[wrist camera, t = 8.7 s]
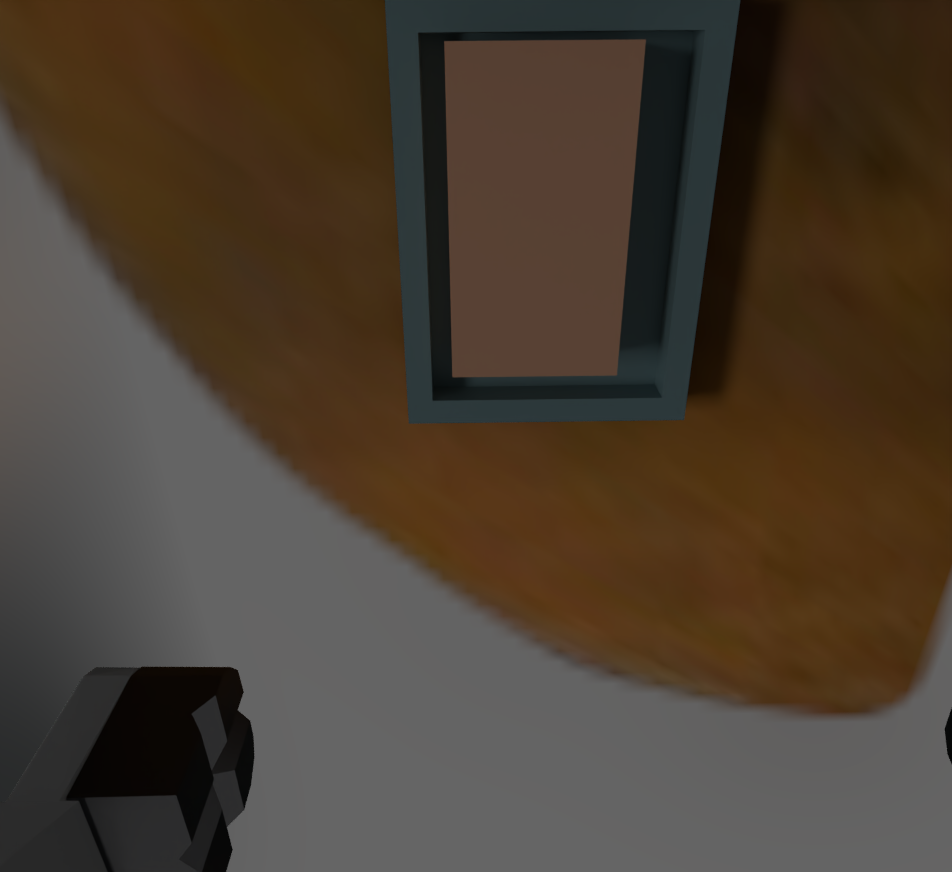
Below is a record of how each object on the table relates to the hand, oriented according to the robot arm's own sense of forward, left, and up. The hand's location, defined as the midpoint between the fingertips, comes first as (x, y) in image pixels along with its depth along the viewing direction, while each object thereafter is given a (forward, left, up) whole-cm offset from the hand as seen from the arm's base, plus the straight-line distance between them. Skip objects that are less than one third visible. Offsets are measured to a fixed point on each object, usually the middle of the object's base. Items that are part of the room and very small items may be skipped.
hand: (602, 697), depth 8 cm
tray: (-2, +1, -17) cm, 17 cm away
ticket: (-2, +1, -17) cm, 17 cm away
